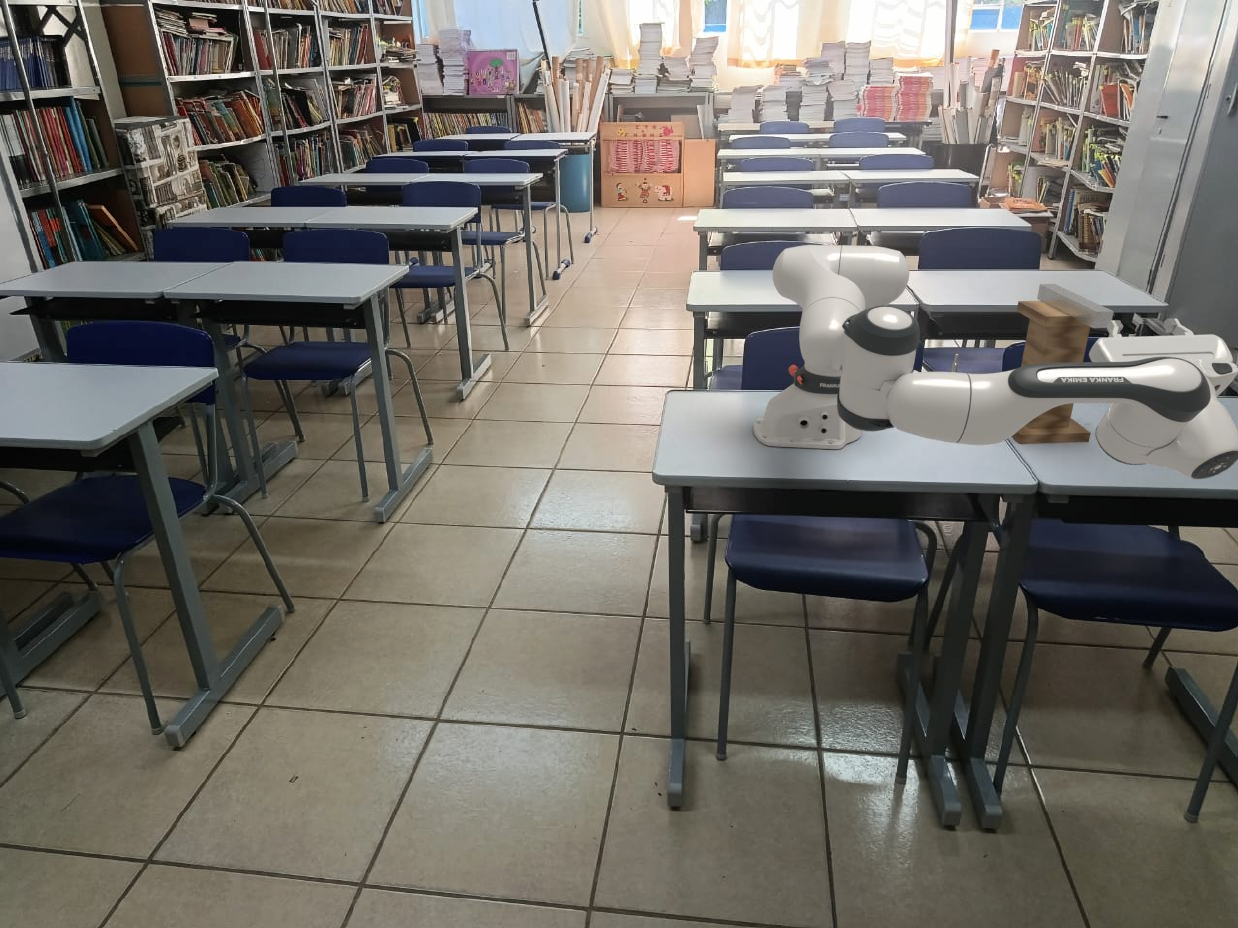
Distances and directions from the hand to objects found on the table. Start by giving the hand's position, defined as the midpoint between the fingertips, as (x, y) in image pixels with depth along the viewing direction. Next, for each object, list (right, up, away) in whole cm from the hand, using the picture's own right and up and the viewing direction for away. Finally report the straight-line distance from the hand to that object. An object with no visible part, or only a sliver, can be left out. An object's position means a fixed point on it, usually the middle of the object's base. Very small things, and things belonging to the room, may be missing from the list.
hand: (1141, 322), depth 138 cm
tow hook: (-11, -10, +50) cm, 53 cm away
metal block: (0, +6, +21) cm, 22 cm away
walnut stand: (+1, -17, +35) cm, 39 cm away
